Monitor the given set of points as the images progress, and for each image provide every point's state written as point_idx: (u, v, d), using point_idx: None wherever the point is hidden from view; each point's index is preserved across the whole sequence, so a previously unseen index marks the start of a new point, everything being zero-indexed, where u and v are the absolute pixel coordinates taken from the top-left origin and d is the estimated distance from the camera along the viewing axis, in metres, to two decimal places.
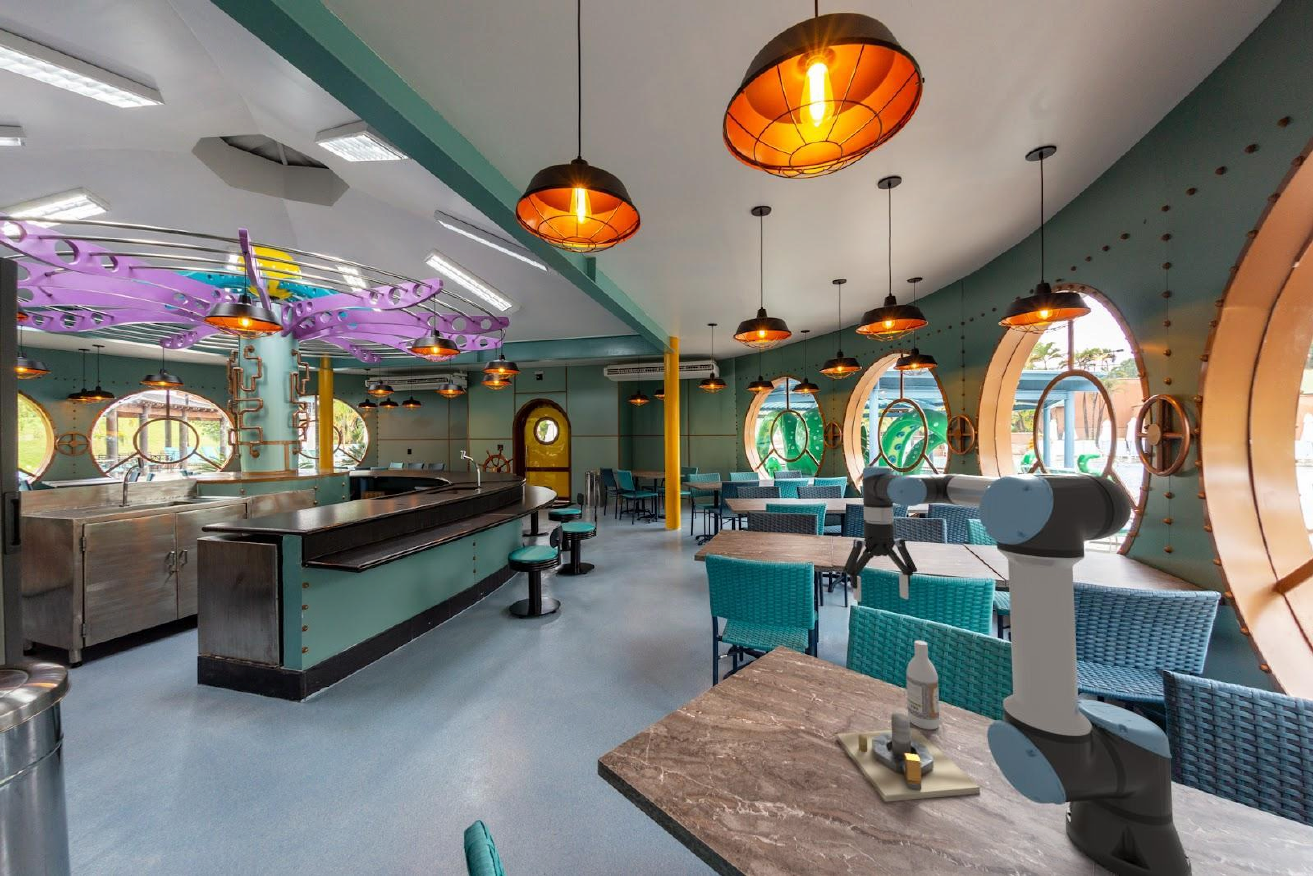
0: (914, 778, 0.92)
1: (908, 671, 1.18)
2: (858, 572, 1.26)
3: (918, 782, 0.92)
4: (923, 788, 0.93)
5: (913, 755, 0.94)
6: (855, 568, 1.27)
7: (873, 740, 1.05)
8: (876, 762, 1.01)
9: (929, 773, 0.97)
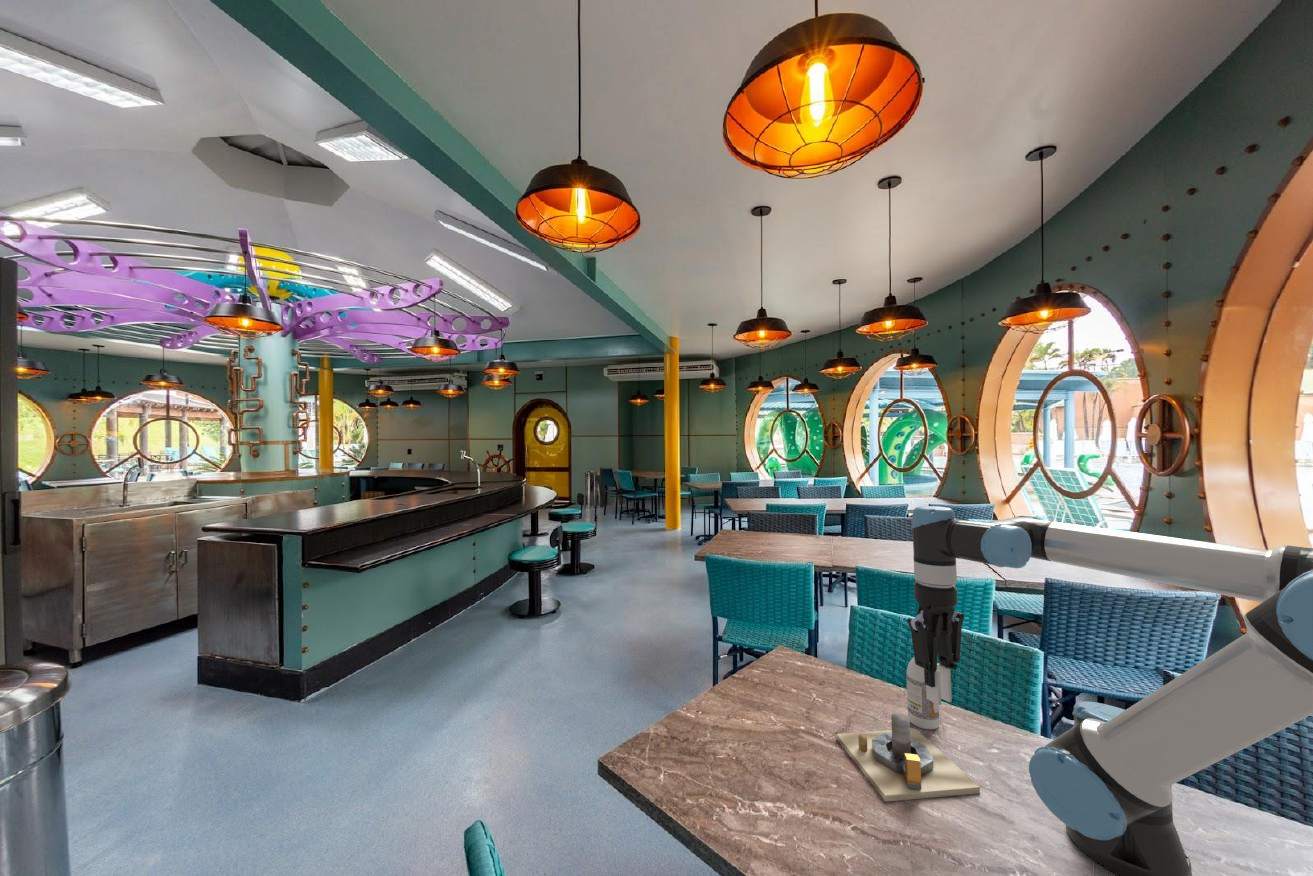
0: (914, 778, 0.92)
1: (908, 671, 1.18)
2: (935, 663, 0.92)
3: (918, 782, 0.92)
4: (923, 788, 0.93)
5: (913, 755, 0.94)
6: None
7: (873, 740, 1.05)
8: (876, 762, 1.01)
9: (929, 773, 0.97)
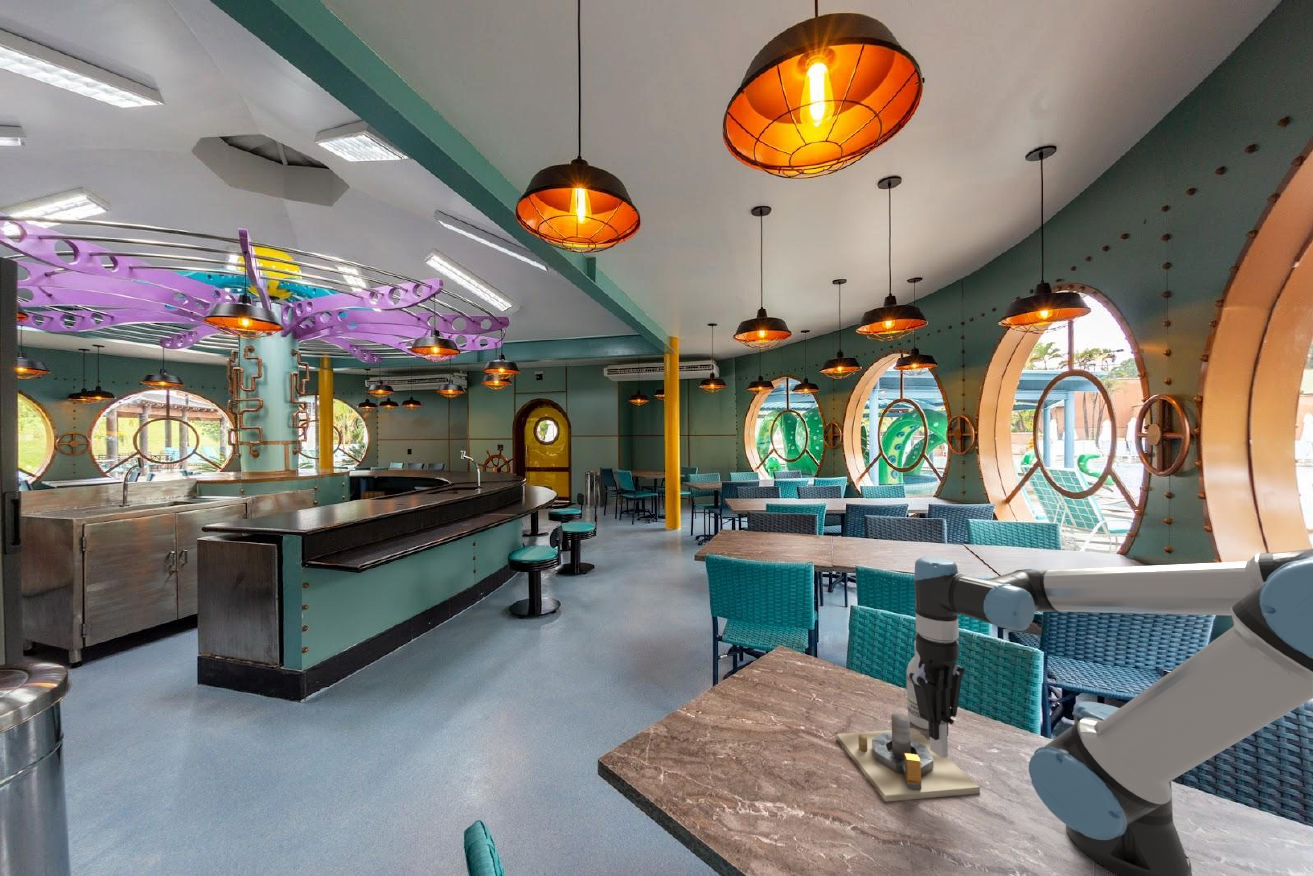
0: (914, 778, 0.92)
1: (908, 671, 1.18)
2: (939, 716, 0.92)
3: (918, 782, 0.92)
4: (923, 788, 0.93)
5: (913, 755, 0.94)
6: None
7: (873, 740, 1.05)
8: (876, 762, 1.01)
9: (929, 773, 0.97)
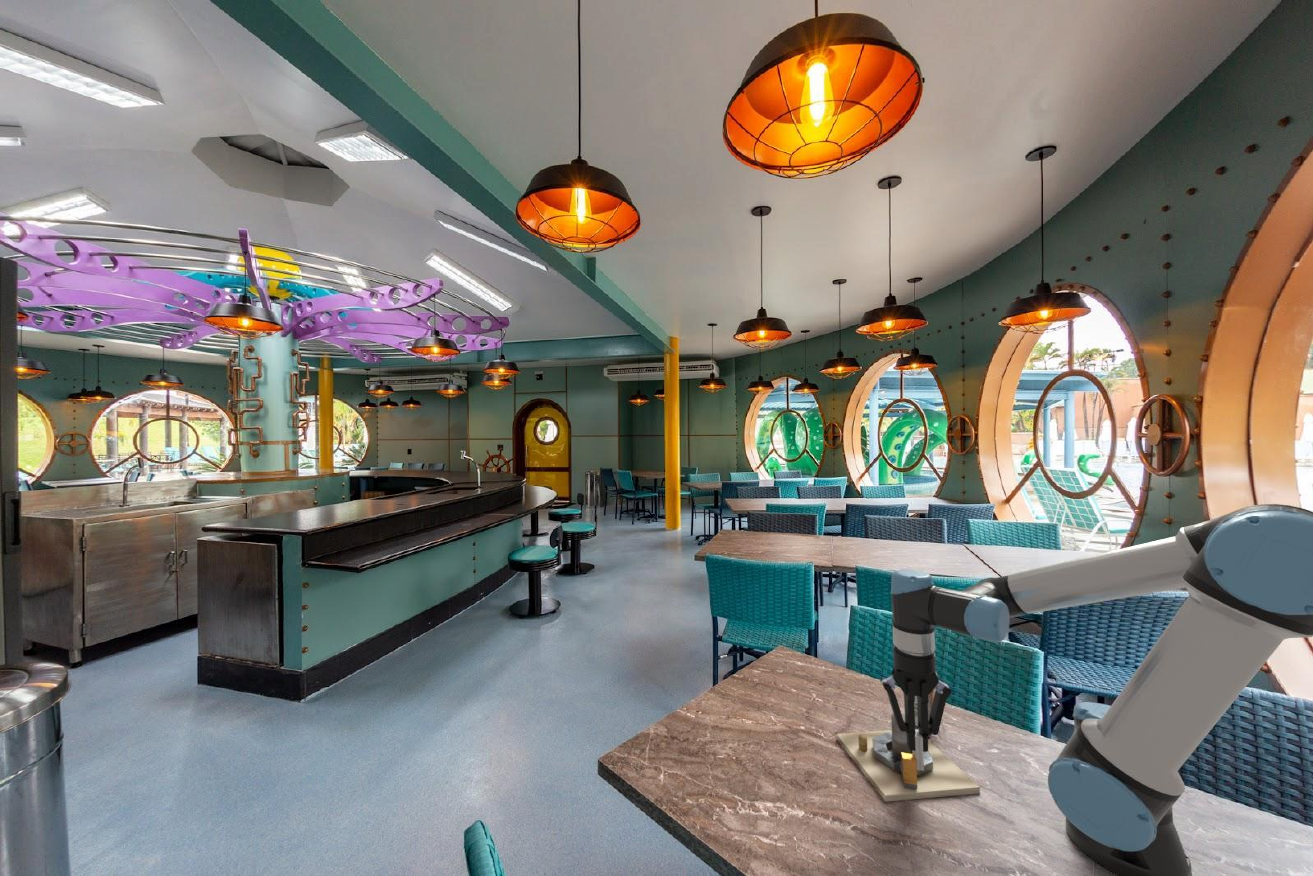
0: (910, 777, 0.93)
1: None
2: (913, 727, 0.93)
3: (914, 781, 0.92)
4: (923, 788, 0.93)
5: (910, 755, 0.94)
6: (907, 722, 0.94)
7: (873, 739, 1.06)
8: (876, 762, 1.01)
9: (929, 773, 0.97)
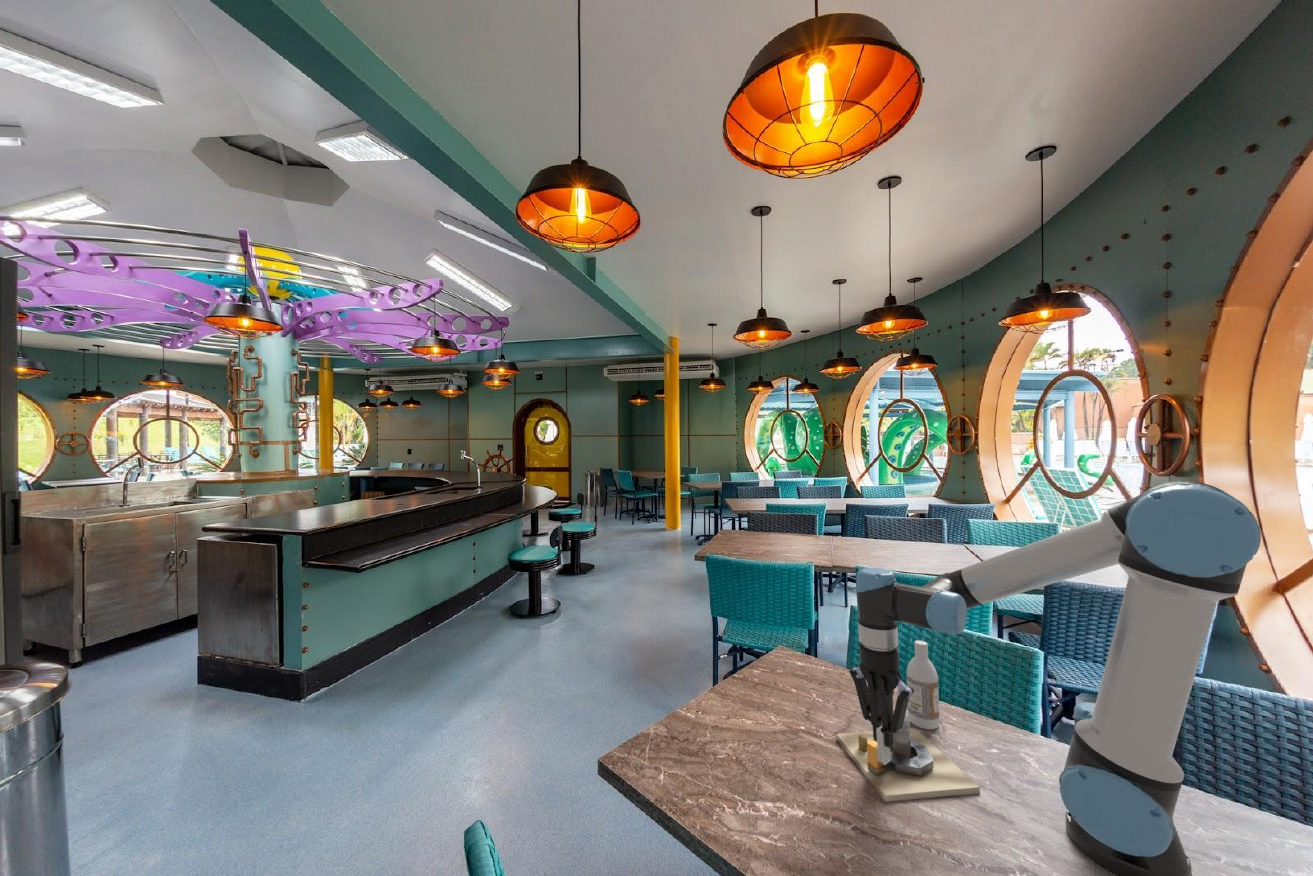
0: (872, 763, 0.97)
1: (908, 671, 1.18)
2: (874, 719, 0.97)
3: (875, 768, 0.96)
4: (923, 788, 0.93)
5: None
6: None
7: None
8: None
9: (929, 773, 0.97)
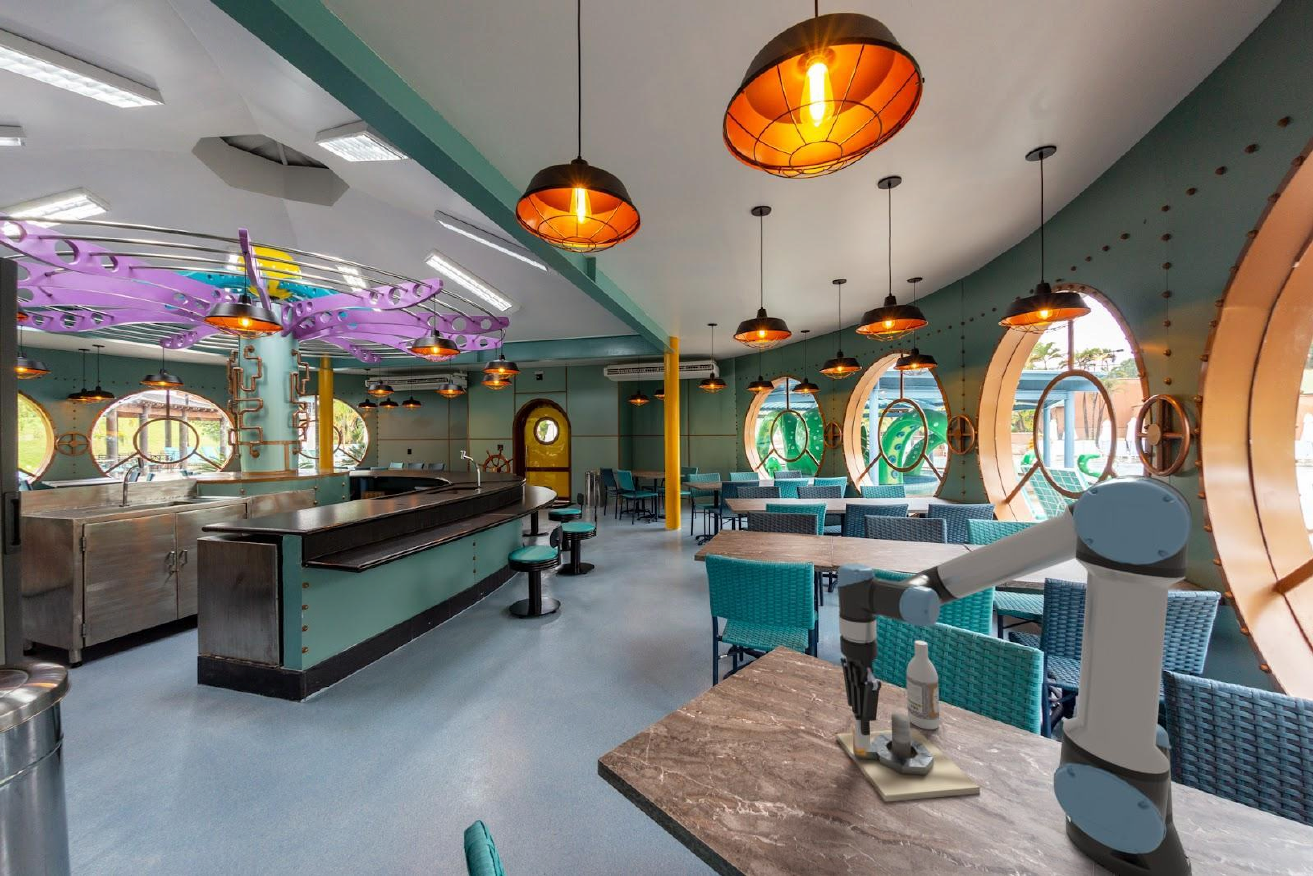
0: (854, 746, 1.03)
1: (908, 671, 1.18)
2: (853, 706, 1.02)
3: (856, 751, 1.02)
4: (923, 788, 0.93)
5: None
6: None
7: None
8: (876, 762, 1.01)
9: (929, 773, 0.97)
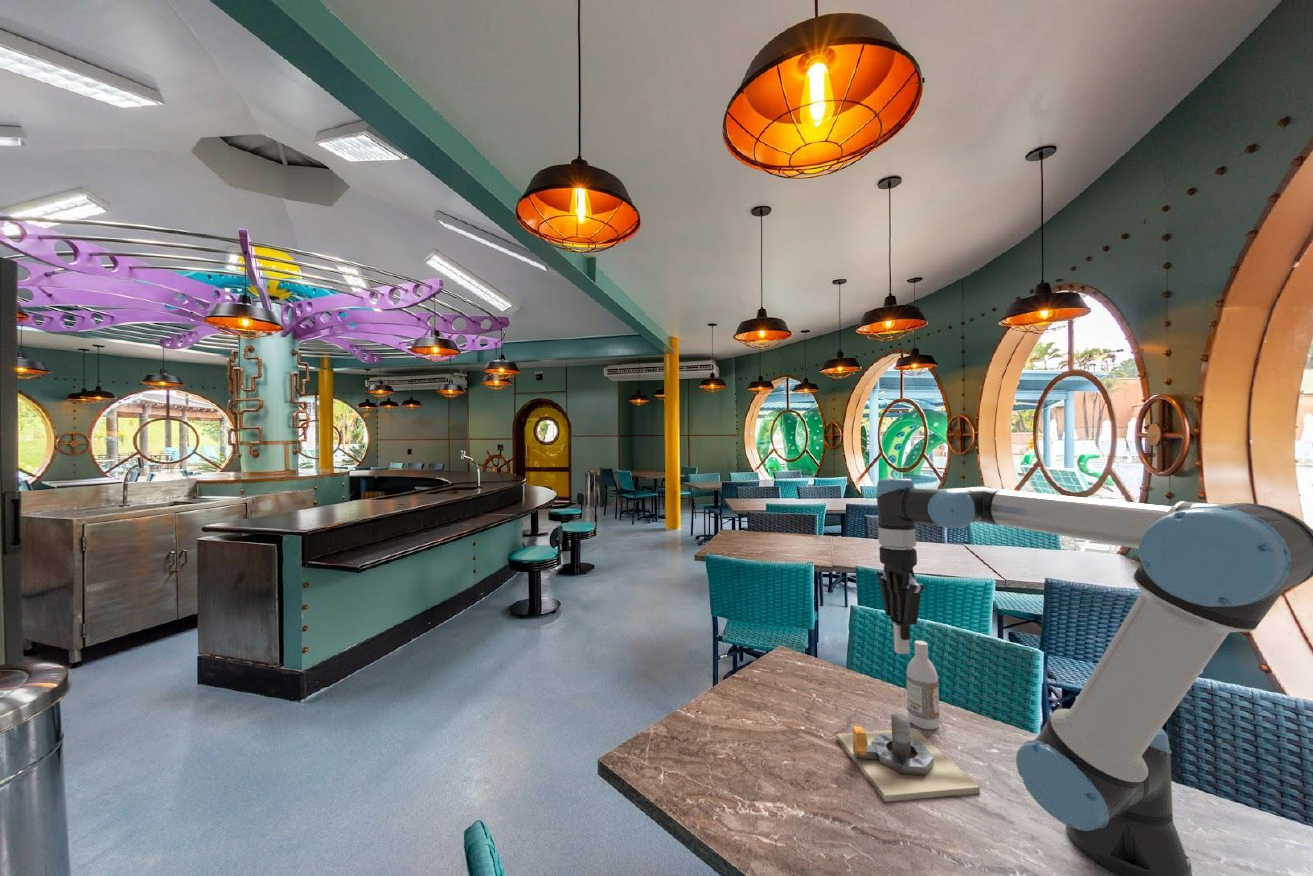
0: (854, 746, 1.03)
1: (908, 671, 1.18)
2: (892, 614, 1.05)
3: (856, 751, 1.02)
4: (923, 788, 0.93)
5: (862, 730, 1.02)
6: None
7: None
8: (876, 762, 1.01)
9: (929, 773, 0.97)
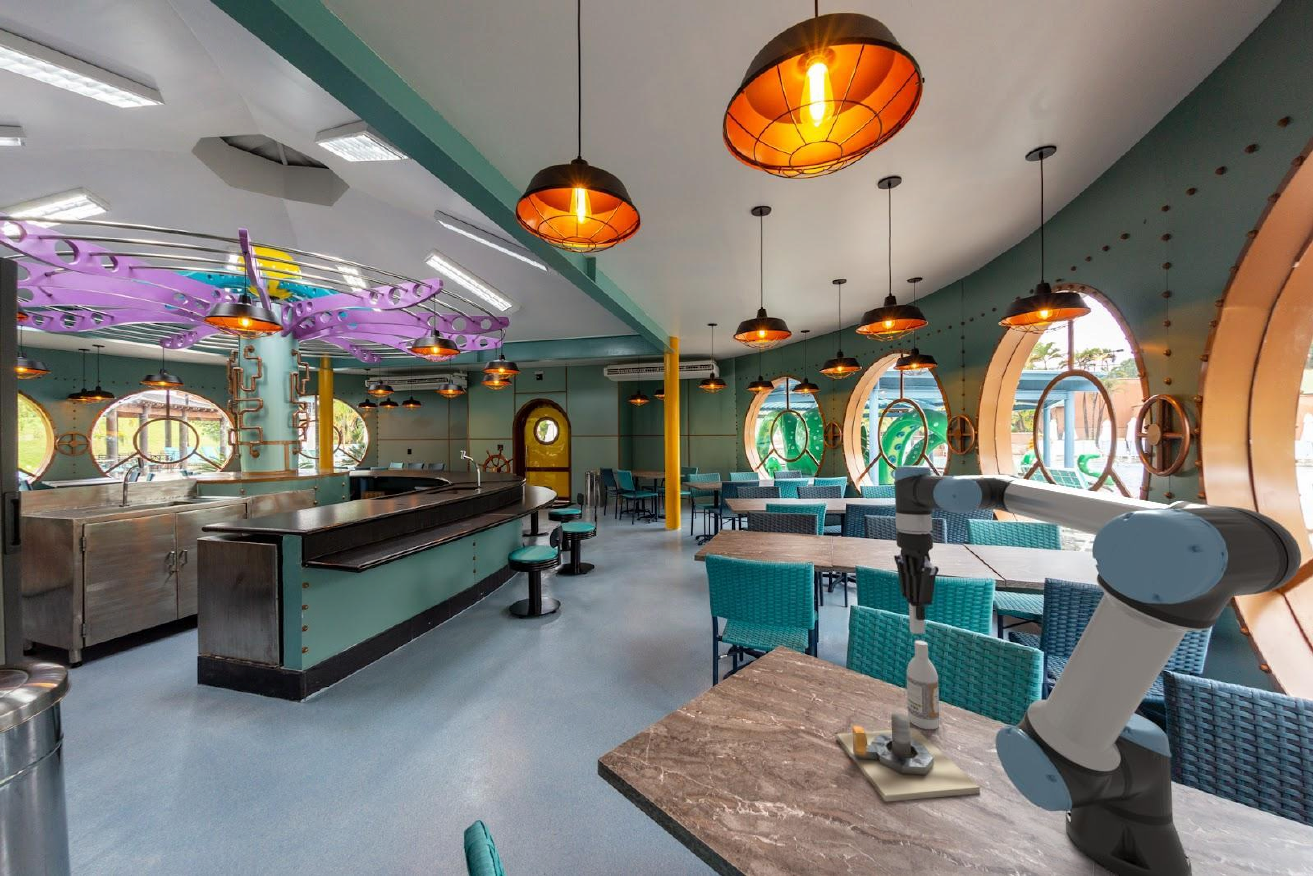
0: (854, 746, 1.03)
1: (908, 671, 1.18)
2: (908, 595, 1.10)
3: (856, 751, 1.02)
4: (923, 788, 0.93)
5: (862, 730, 1.02)
6: None
7: None
8: (876, 762, 1.01)
9: (929, 773, 0.97)
